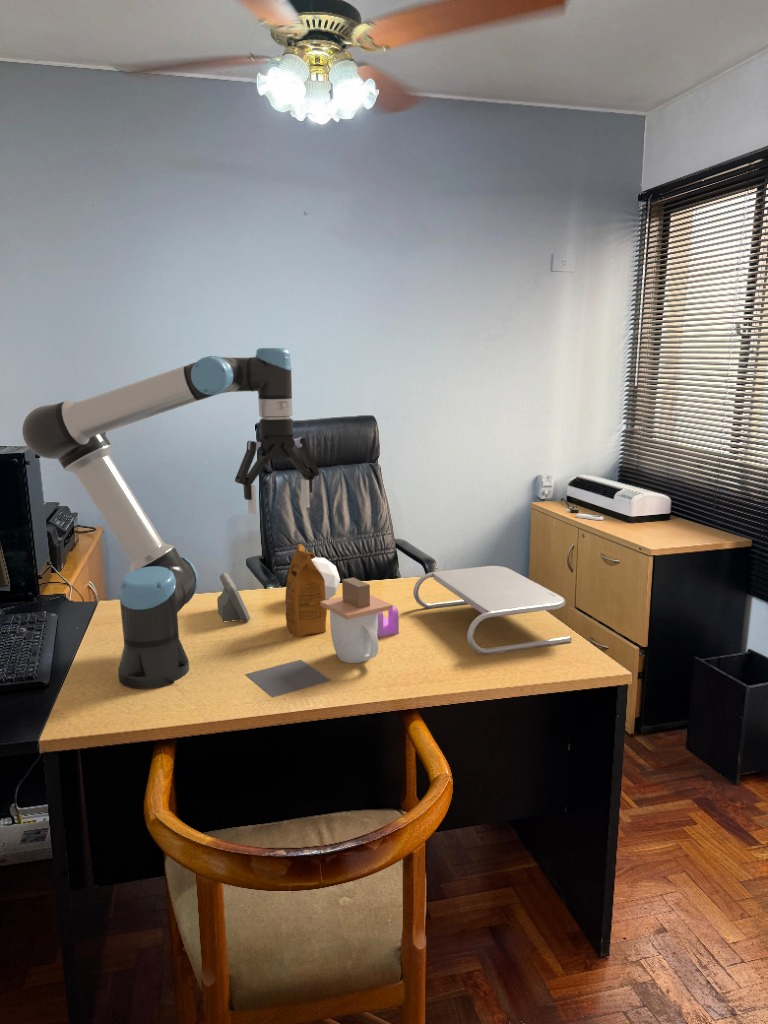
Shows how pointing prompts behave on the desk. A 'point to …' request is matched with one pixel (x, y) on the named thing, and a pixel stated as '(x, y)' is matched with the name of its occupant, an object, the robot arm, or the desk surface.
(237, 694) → the desk surface
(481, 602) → the monitor stand
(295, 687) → the mat
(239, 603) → the digital clock
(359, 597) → the lid
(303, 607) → the coffee package
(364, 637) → the mug
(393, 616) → the bracket
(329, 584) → the geodesic sphere
